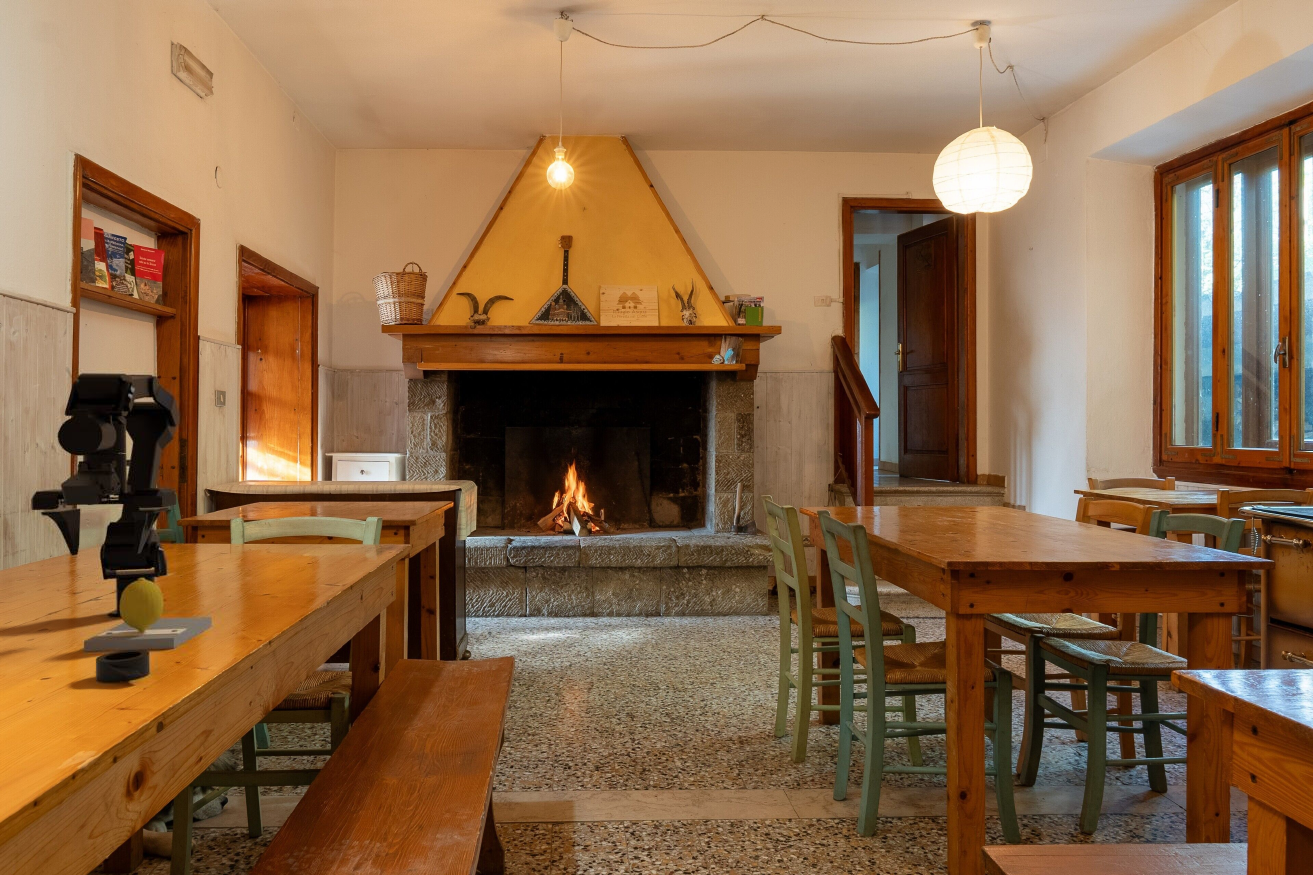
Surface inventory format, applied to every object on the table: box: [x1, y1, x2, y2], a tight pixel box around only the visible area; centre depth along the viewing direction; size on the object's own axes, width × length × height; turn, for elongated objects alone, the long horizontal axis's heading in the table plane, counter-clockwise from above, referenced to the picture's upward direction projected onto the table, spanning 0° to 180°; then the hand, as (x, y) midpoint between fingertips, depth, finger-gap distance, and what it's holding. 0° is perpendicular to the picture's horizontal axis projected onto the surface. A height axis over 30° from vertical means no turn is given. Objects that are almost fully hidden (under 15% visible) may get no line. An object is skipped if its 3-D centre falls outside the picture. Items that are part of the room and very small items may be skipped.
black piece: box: [95, 649, 151, 684], centre depth 111 cm, size 8×10×3 cm
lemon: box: [120, 578, 164, 632], centre depth 128 cm, size 6×6×8 cm
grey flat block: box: [83, 616, 212, 653], centre depth 131 cm, size 14×12×2 cm
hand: (106, 554), depth 135 cm, fingers open, 9 cm apart
